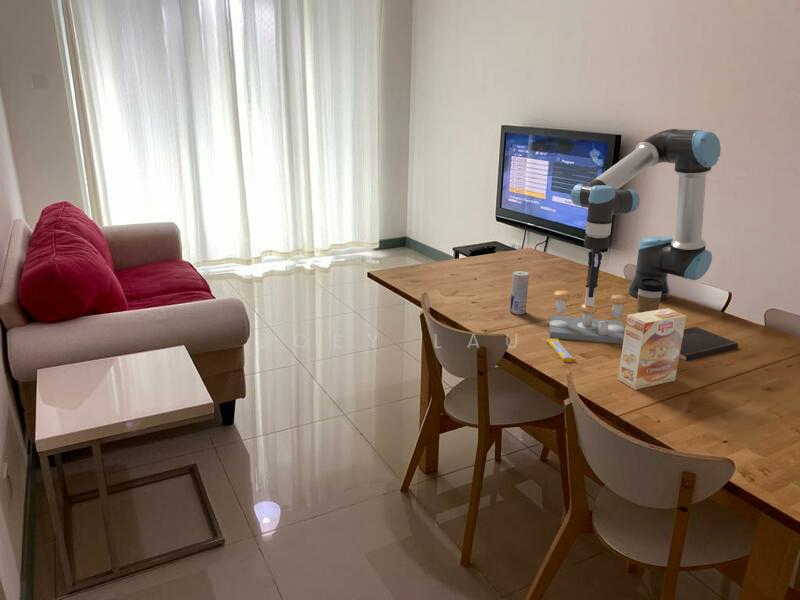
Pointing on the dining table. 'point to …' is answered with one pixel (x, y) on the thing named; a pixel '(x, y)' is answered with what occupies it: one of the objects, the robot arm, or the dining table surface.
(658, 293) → the coffee cup
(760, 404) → the dining table surface
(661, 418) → the dining table surface
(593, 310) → the knob middle
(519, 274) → the beverage can
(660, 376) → the coffeecake box
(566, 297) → the knob far
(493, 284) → the dining table surface
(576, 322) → the mount board
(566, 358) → the candy bar
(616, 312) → the knob near
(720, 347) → the hardcover book
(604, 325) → the pot dial
